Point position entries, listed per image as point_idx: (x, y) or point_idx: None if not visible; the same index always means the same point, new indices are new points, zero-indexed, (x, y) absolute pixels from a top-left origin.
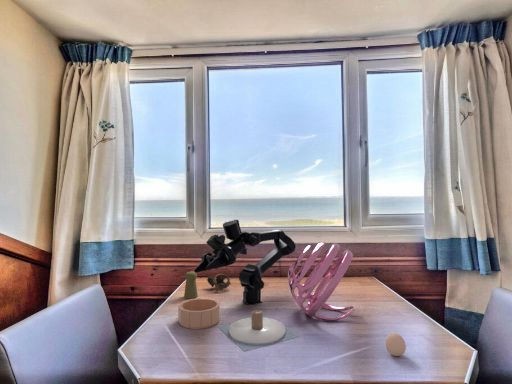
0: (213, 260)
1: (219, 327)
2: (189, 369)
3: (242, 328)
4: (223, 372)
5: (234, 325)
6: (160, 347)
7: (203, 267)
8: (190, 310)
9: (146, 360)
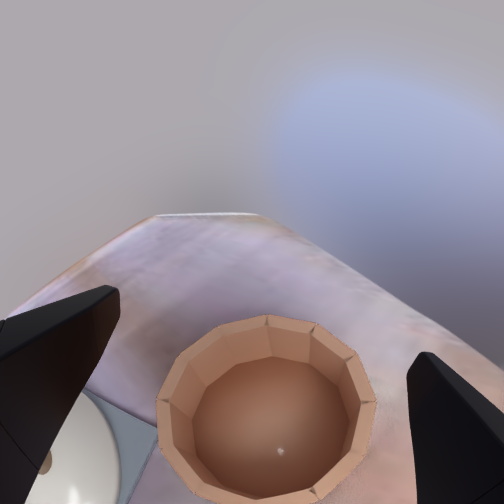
0: (12, 329)
1: (153, 429)
2: (100, 265)
3: (67, 435)
4: (51, 293)
5: (97, 442)
6: (209, 263)
7: (447, 477)
8: (351, 419)
9: (187, 231)
